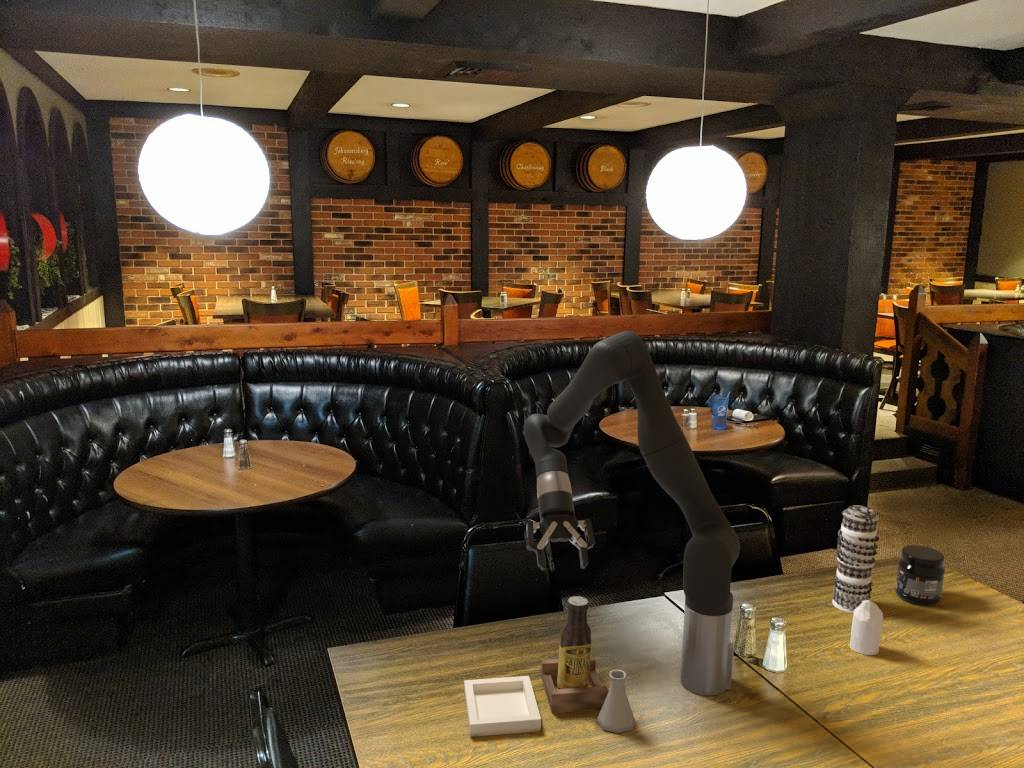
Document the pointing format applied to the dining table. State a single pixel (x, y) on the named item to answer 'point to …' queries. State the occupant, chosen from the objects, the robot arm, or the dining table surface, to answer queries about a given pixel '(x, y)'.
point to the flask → (616, 706)
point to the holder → (572, 690)
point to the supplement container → (920, 575)
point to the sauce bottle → (575, 646)
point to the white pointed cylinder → (866, 628)
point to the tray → (501, 706)
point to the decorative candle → (855, 558)
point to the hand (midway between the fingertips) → (563, 568)
